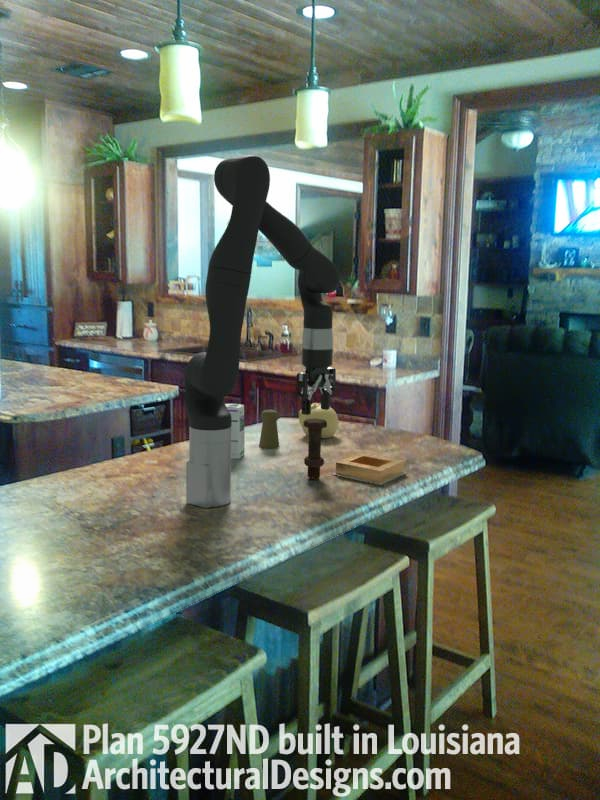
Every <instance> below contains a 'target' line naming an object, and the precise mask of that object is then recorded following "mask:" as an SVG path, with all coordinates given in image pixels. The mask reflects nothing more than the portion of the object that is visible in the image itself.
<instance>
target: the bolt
mask: <svg viewBox="0 0 600 800" xmlns="http://www.w3.org/2000/svg"><path fill="white" fill-rule="evenodd" d="M304 426H305V427H307V428H308V433H309V436H308V443H307V447H308V448H307V451H308V453H307V456H305V457H304V459H303V462H304V465H305V466H306V467H307V473H306V474H307V477H308V478H309V481H312V480H314V481H317V480H319V479H320V478H321V467H322V466H324V464H325V459H324V457H322V456H321V454H322V453H321V452H322V449H321V448H322V438H321V434H322V428H325V427H327V422H326V421H325V420H323V419H306V420H305V421H304Z"/></svg>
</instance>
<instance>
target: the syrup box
mask: <svg viewBox="0 0 600 800" xmlns="http://www.w3.org/2000/svg"><path fill="white" fill-rule="evenodd" d="M225 405H226V407H227V409H228V411H229V412H230V414H231V418H232V425H231V460H240V459H241V458H242V457H243V456H244V455H245V405H244V404H242V403H225Z"/></svg>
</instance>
